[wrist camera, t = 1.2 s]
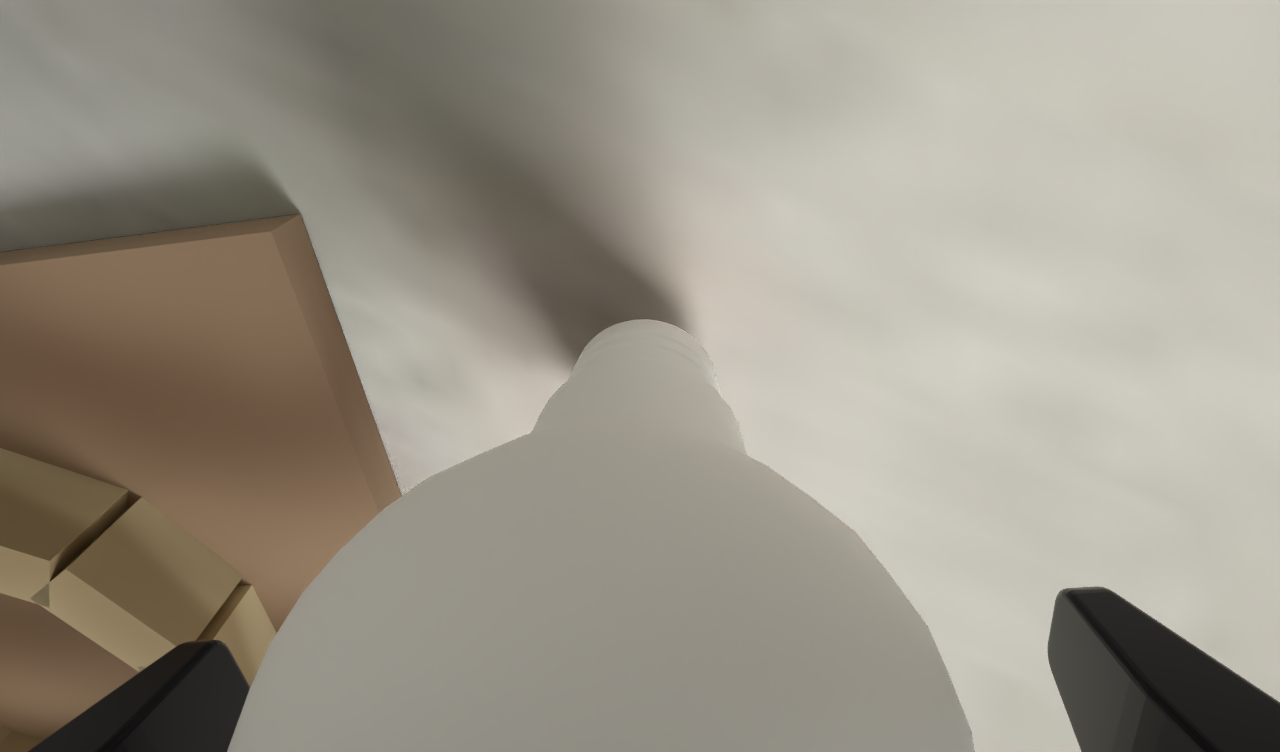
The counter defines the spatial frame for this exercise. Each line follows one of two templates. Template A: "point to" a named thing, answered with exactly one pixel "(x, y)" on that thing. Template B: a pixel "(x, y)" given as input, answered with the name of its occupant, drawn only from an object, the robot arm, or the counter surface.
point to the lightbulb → (607, 597)
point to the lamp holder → (168, 455)
